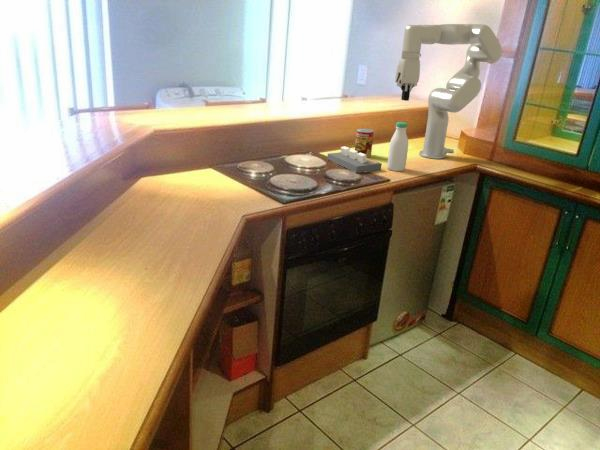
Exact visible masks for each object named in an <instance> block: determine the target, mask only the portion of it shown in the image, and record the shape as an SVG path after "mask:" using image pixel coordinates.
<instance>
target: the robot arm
mask: <svg viewBox="0 0 600 450" xmlns="http://www.w3.org/2000/svg"><path fill="white" fill-rule="evenodd" d="M422 44H423V45H435V44H439V45H451V46H452V45H453V46H454V45H455V46H456V45H469V46H468V47H467V50H466V56H465V63H464V65H463V66H462V68H461V69H460V70H458V71H457V72H456V73H455V74H453V76H452V77H450V78H449V80H448V81H447V83H446V84H445V85H446V87H445V88H443V87H437V88H436V87H435V88H434V89H432V90H431V91H430V93H429V94H428V99H427V100H428V101H427V104H428V106H427V107H428V111H427V112H428V116H427V121H426V129H425V135H424V142H423V147H422V148H423V149H422V150H420V151H419V153H418V154H419V156H421V157H424V158H428V159H435V160H437V159H438V160H439V159H444V158H446V157H447V154H454V152H455V150H454V149H452V148H448V147H447V148H446V147H445V144H446V137H447V132H448V126H449V118H450V117H449V113H458V112H461V111H462V110H464V109H465V108H466V106H468V105H469V104H470V103H471V102H472V101H473V100H475V98H476V97H478V96H479V93H480V92H481V89H482V82H481V80H480V78H479V76H480V74H481V69H480V68H481V67H480V66H481V65H480V63H488V64H493V63H497V62H498V61H500V59H501V58H502V54H503V49H502V44H501V43H500V41H499V40H498V38H497V36H496V34H495V32H494V30H493V29H492V28H491V27H490V26H488V25H487V24H474V23H459V24H458V23H445V24H408V25H406V26H405V28H404V33H403V42H402V49H401V50H402V52H401V58H400V59H399V60H398V62H397V63H398V64H397V68H396V73H395V79H394V80H395V83H396V87H399V88H400V90H401V91H402V92H401V101H410V93H411V91H412V89H413V88H414V87H417V86H418V83H419V80H420V73H421V60H420V57H421V56H422V54H421V49H422ZM448 112H449V113H448Z"/></svg>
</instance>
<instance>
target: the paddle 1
mask: <svg viewBox="0 0 600 450" xmlns="http://www.w3.org/2000/svg"><path fill="white" fill-rule="evenodd" d="M349 150H351V149H350V147H348V146H345V145H344V146H340V152H341V153H342V154H343V155H345V156H349Z"/></svg>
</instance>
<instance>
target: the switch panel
mask: <svg viewBox="0 0 600 450" xmlns="http://www.w3.org/2000/svg"><path fill="white" fill-rule="evenodd" d="M327 158H328V159H330V160H332V161H334V162H336V163H338V164H339V165H341V166H343V167H346V168H348V169H351V170H353V171H356V172H364V171H367V172H366V173H371V172H378V171H381V170H382V166H383V165H382V163H381V162H379V161H377V160H374V159H371V158H370V157H369V158H367V157H366V158H367V162H365V163H361V162H359V161H357V159H355V160H354V159H352V158H350V157H349V156H345V155H343V154H342V153H341V151H340V152H339V151H338V152H331V153H327ZM339 165H338V166H339ZM341 166H340V167H341ZM343 167H342V168H343ZM348 169H347V170H348ZM364 173H365V172H364Z"/></svg>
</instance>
